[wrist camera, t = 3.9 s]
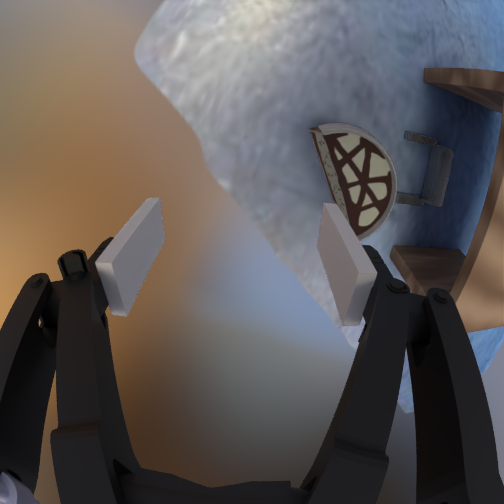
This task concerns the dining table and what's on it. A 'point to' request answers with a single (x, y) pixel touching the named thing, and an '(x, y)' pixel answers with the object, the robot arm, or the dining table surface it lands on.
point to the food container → (356, 175)
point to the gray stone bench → (430, 173)
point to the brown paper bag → (488, 229)
